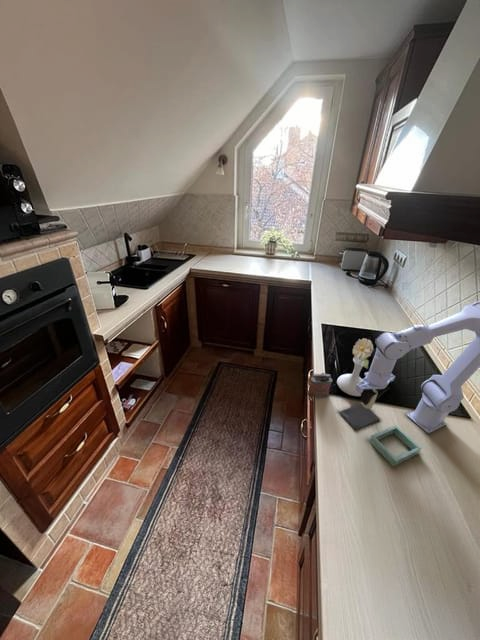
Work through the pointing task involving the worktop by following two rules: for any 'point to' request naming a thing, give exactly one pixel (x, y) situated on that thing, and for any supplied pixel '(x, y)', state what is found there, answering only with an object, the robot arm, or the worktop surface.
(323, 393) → the lighter
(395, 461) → the green rectangular frame
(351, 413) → the slate mat
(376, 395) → the shaving stick
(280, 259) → the worktop surface
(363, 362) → the flower in vase
